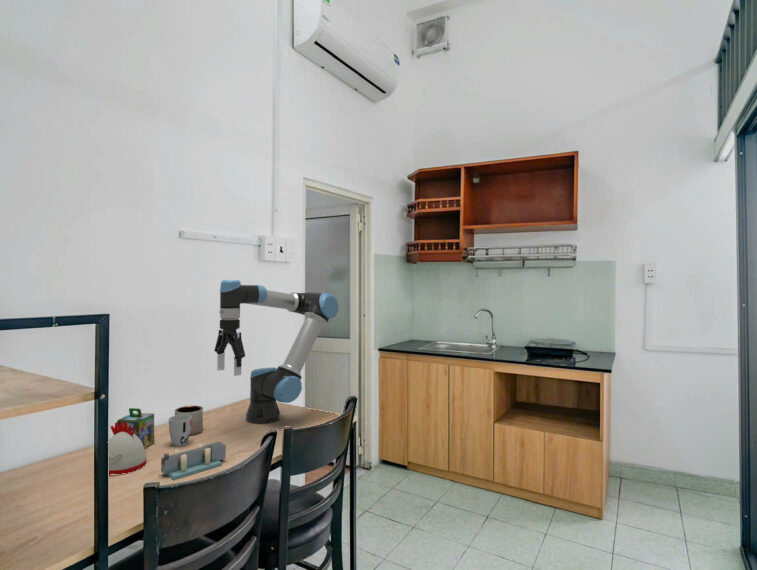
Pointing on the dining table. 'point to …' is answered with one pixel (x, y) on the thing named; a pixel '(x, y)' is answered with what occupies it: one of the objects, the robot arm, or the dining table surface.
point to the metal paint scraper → (192, 457)
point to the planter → (196, 417)
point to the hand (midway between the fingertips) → (228, 372)
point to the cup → (180, 429)
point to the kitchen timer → (125, 450)
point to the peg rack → (194, 469)
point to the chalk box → (140, 425)
